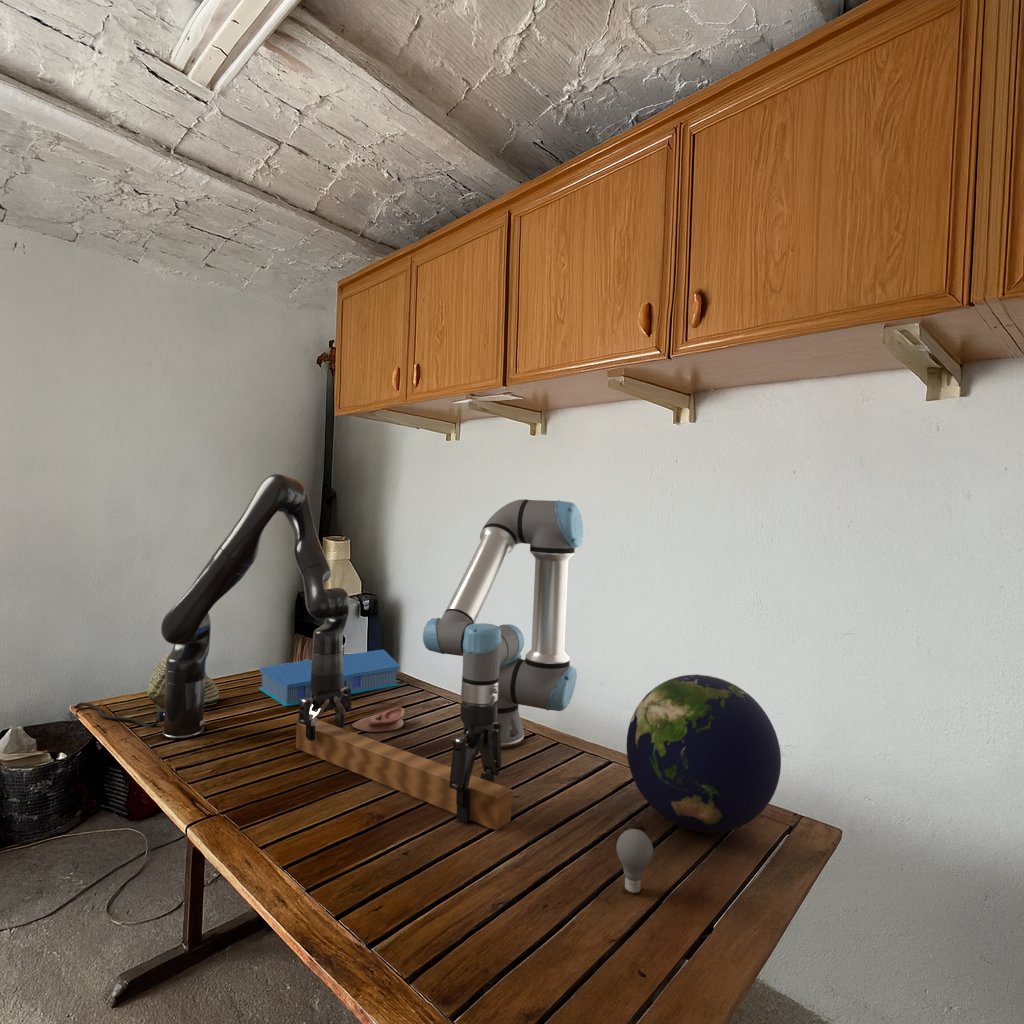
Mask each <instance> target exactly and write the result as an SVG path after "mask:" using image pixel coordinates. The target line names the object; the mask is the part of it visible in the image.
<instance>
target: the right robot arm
mask: <svg viewBox="0 0 1024 1024" xmlns="http://www.w3.org/2000/svg"><path fill="white" fill-rule="evenodd" d="M583 537H584V524H583V517H582V514H581V511H580V509H579V507H578V505H576V504H575V503H574V502H571V501H566V500H565V501H564V500H547V499H546V500H543V499H538V500H537V499H527V498H526V499H521V498H520V499H516V500H513V501H511V502H508V503H507V504H505V505H503V506H502V507H500V508H499V509H498V510H496V511H495V512H494V513H493V514H492V515H491V516H490V517H489V518H488V520H487V521H486V522H485V523H484V525H483V528H482V529H481V531H480V534H479V539H480V542H479V544H478V546H477V548H476V550H475V551H474V553H473V555H472V557H471V560H470V561H469V563H468V566H467V567H466V569H465V570H464V573H463V575H462V577H461V578H460V581H459V583H458V585H457V587H456V590H455V591H454V593H453V594H452V597H451V599H450V601H449V603H448V605H447V607H446V609H445V611H444V613H443V614H442V616H441V618H440V617H437V618H436V617H433V618H430V619H429V620H428V621H426V623H425V625H424V628H423V631H422V642H423V645H424V648H426V649H427V650H428V651H430V652H434V653H438V654H441V655H451V656H458V657H462V676H461V688H460V689H461V690H460V699H461V700H462V701H461V702H460V714H459V715H460V716H459V717H460V720H461V722H462V723H463V729H462V732H461V735H460V736H459V737H456V736H454V737H453V738H452V741H451V742H452V758H451V765H450V767H451V773H450V782H449V787H450V788H453V789H456V790H457V793H456V804H457V814H456V817H455V818H456V820H458V821H461V822H464V823H466V824H468V823H470V820H469V817H470V794H471V789H469V788H468V786H469V781H470V777H471V775H472V773H473V768H474V764H475V761H476V758H477V757H476V756H479V755H480V759H481V764H482V769H483V772H482V773H480V778H481V779H484V780H487V781H490V782H493V783H495V776H496V777H498V776H499V774H500V769H501V768H502V749H509V748H513V747H517V746H519V745H521V744H522V743H523V742H524V739H525V731H524V726H523V722H522V720H521V715H520V712H519V705H520V706H526V707H531V708H536V709H541V710H545V711H555V712H563V711H565V710H566V709H567V708H568V706H569V705H570V703H571V701H572V698H573V696H574V693H575V689H576V684H577V678H578V673H577V668H576V667H574V666H573V665H570V663H571V658H570V656H569V655H568V654H567V653H566V652H565V651H566V650H565V644H566V643H565V642H566V622H567V619H566V617H567V597H568V596H567V595H568V577H569V560H570V559H571V558H572V557H573V556H574V555H575V553H576V551H575V550H576V549H577V548H579V547H580V546H581V545H582V543H583ZM519 544H525V545H526V544H527V545H529V553H530V554H531V555H532V556H533V558H534V559H535V560H534V563H535V564H534V578H533V579H534V584H533V585H534V586H533V605H532V606H533V607H532V625H531V626H532V628H531V629H532V630H531V649H530V650H529V651H528V652H527V653H526V654H525V659H523V658H522V654H521V652H522V651H523V649H524V647H525V637H524V634H523V632H522V631H521V629H520V628H519V627H517V626H516V625H514V624H510V623H507V624H500V625H499V626H498V625H496V624H492V623H486V622H485V623H484V622H483V623H480V622H479V623H476V622H477V619H478V618H479V615H480V613H481V611H482V609H483V608H484V605H485V602H486V601H487V598H488V596H489V595H490V591H491V589H492V588H493V586H494V584H495V581H496V579H497V577H498V574H499V573H500V570H501V568H502V565H503V564H504V562H505V560H506V557H507V555H509V554H510V553H512V552H513V551H514V549H515V547H516V546H517V545H519Z"/></svg>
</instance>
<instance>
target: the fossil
mask: <svg viewBox="0 0 1024 1024" xmlns="http://www.w3.org/2000/svg"><path fill="white" fill-rule="evenodd" d="M168 656H169V654H165V655H164V656H163V657H162V658H161V659H160V660H159V662H158V663H157V666H156V667H155V669H154V670H153V672H152V675H151V677H150V680H149V684H148V688H147V697H148V699H149V700H150V701H152V703H153V704H154V706H155V711H157V710H159V709H164V705H165V674H166V659H167V657H168ZM220 698H221V696H220V690H219V688H218V686H217V685H216V683H215V682H214V681H213V679H212V678H211V677H209V675H208V674H207V672H206V671H205V693H204V707H207V706H213V705H215V704H217V703H218V701H219V699H220Z"/></svg>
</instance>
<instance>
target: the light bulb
mask: <svg viewBox="0 0 1024 1024" xmlns="http://www.w3.org/2000/svg"><path fill="white" fill-rule="evenodd" d="M615 849H616V854H617V857H618V859H619V861H620V863H621V865H622V867H623V873H624V874H623V875H624V876H625V878H624V888H625V890H627V891H628V892H630V893H634V894H635V893H639V892H640V891H641V889H642V887H641V886H642V879H643V877H644V875H645V871H646V868H647V867H648V866H649V864H650V863H651V861H652V859H653V855H654V847H653V843H652V841H651V838H649V836H648V835H647V834H646V833H645V832H643V831H642V830H641V829H636V828H629V829H627V830H625V831H623V832H622V833H621V834H620V835H619V837H618V839H617V841H616V847H615Z"/></svg>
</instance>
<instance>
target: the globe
mask: <svg viewBox="0 0 1024 1024" xmlns="http://www.w3.org/2000/svg"><path fill="white" fill-rule="evenodd" d="M627 729H628V730H627V734H626V757H627V763H628V767H629V771H630V773H631V776H632V779H633V781H634V783H635V786H636V787H637V790H638V791H639V793H640V794H641V795H642V797H643V798H644V800H645V801H646V802H647V803H648V804H649V806H651V807H652V809H654V810H655V812H657V813H658V814H659V815H660V816H662V817H663V818H664V819H666V820H667V821H669V822H671V823H673V824H675V825H676V826H678V827H680V828H683V829H686V830H690V831H692V832H696V833H703V834H704V833H705V834H717V833H718V834H719V833H725V832H730V831H733V830H736V829H739V828H741V827H744V826H745V825H747V824H749V823H750V822H752V821H753V820H754V819H756V818H757V817H758V816H760V814H761V813H762V812H763V811H764V810H765V809H766V808H767V806H768V805H769V803H770V802H771V800H772V799H773V798H774V795H775V793H776V791H777V788H778V785H779V781H780V775H781V770H782V769H781V768H782V757H781V756H782V755H781V748H780V742H779V739H778V735H777V732H776V730H775V728H774V725H773V723H772V721H771V719H770V718H769V716H768V714H767V713H766V711H765V710H764V709H763V707H762V706H761V704H759V702H757V700H755V698H754V697H753V696H752V695H750V694H749V693H748V692H746V691H745V690H744V689H742V688H741V687H739V686H737V684H734V683H731V682H729V681H728V680H726V679H723V678H721V677H716V676H712V675H708V674H702V673H700V674H697V673H696V674H685V675H679V676H676V677H673V678H672V677H671V678H670V679H667V680H665V681H663V682H662V683H659V684H658V685H656V686H655V687H654V688H652V689H651V690H650V691H649V692H647V693H646V694H645V695H644V697H643V698H642V699H641V701H640V702H638V705H637V706H636V708H635V709H634V712H633V714H632V716H631V718H630V721H629V725H628V728H627Z"/></svg>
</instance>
